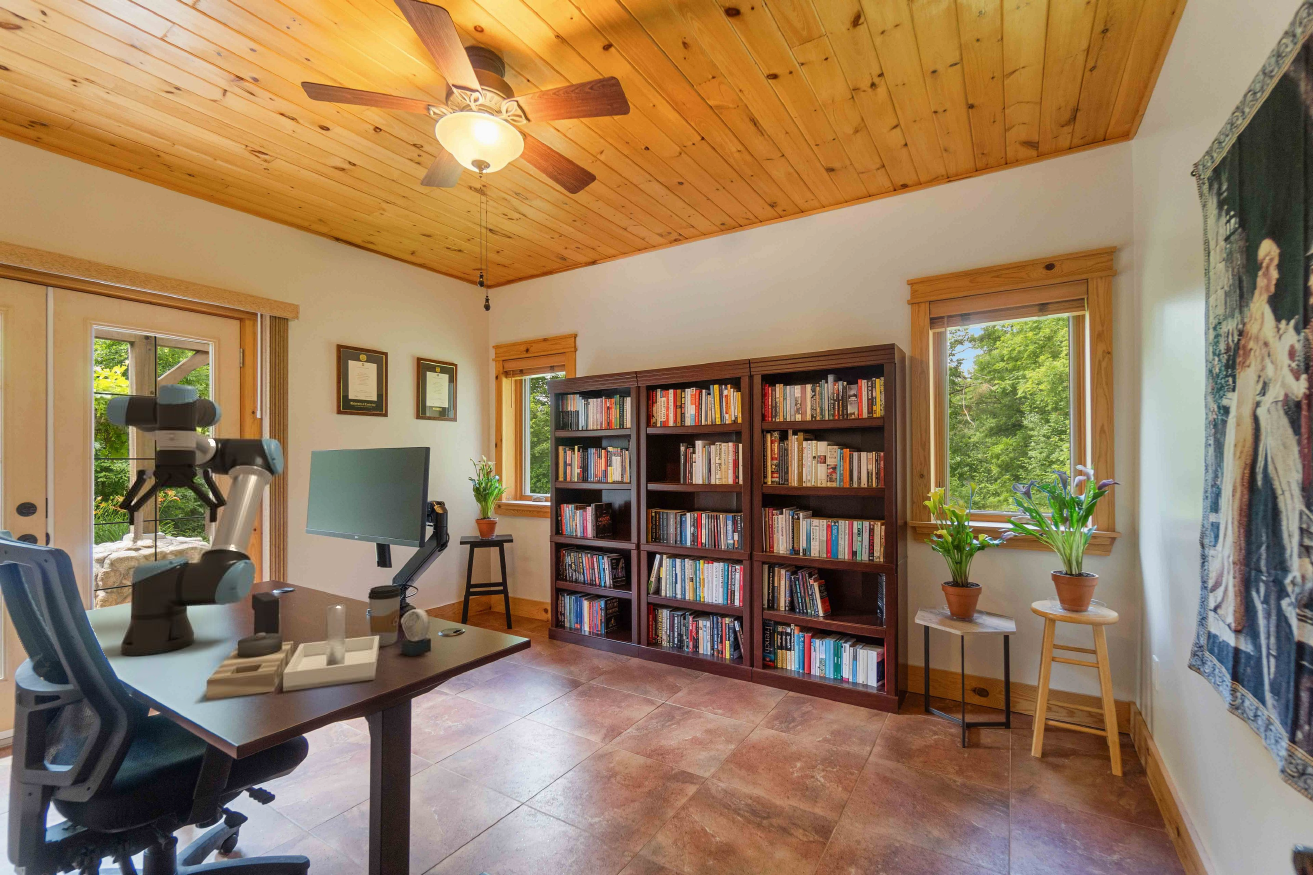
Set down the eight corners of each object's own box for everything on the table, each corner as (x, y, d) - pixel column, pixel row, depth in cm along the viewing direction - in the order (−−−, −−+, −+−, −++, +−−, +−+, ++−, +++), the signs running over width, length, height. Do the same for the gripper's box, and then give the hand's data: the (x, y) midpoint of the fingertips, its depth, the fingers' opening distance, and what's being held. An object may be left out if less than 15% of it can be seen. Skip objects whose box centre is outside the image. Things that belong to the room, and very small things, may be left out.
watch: (415, 646, 159) (415, 605, 160) (435, 651, 155) (435, 609, 156) (396, 652, 155) (397, 610, 155) (416, 657, 150) (417, 614, 151)
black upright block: (281, 656, 152) (282, 597, 152) (262, 660, 149) (263, 600, 149) (269, 647, 159) (270, 591, 160) (250, 651, 156) (251, 593, 157)
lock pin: (327, 663, 144) (327, 605, 144) (345, 661, 145) (346, 603, 146) (325, 668, 140) (325, 608, 140) (344, 666, 141) (344, 607, 142)
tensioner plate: (236, 663, 146) (237, 630, 147) (293, 657, 151) (293, 624, 151) (206, 699, 124) (207, 660, 125) (273, 691, 129) (274, 652, 129)
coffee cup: (387, 648, 158) (388, 591, 159) (360, 646, 160) (361, 590, 160) (407, 639, 166) (407, 585, 167) (380, 637, 168) (381, 584, 168)
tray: (300, 659, 149) (300, 643, 149) (379, 650, 156) (379, 635, 156) (283, 691, 129) (283, 672, 129) (374, 679, 136) (374, 661, 136)
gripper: (102, 448, 134) (99, 542, 133) (234, 449, 144) (232, 536, 143) (117, 449, 141) (114, 538, 140) (242, 449, 151) (240, 533, 150)
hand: (173, 538), depth 142 cm, fingers open, 13 cm apart
